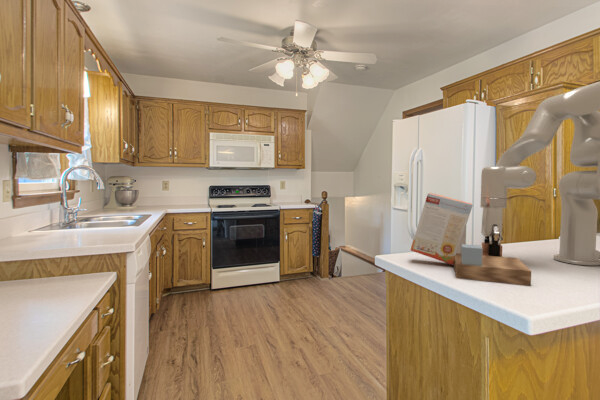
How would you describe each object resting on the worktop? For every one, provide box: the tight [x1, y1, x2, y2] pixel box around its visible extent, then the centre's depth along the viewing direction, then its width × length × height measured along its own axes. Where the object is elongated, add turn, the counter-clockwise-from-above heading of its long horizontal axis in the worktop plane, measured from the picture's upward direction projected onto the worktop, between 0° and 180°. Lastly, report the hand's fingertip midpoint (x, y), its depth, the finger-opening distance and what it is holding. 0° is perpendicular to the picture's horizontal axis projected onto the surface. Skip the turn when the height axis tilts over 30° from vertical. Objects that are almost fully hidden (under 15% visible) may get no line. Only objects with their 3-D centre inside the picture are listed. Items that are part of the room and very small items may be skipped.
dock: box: [453, 253, 532, 287], centre depth 96 cm, size 18×16×4 cm
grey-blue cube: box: [461, 243, 483, 266], centre depth 93 cm, size 5×5×5 cm
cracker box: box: [410, 192, 474, 266], centre depth 107 cm, size 14×6×21 cm, turn 63°
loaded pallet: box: [481, 242, 503, 257], centre depth 108 cm, size 10×6×7 cm, turn 64°
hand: (491, 253), depth 108 cm, fingers open, 9 cm apart
